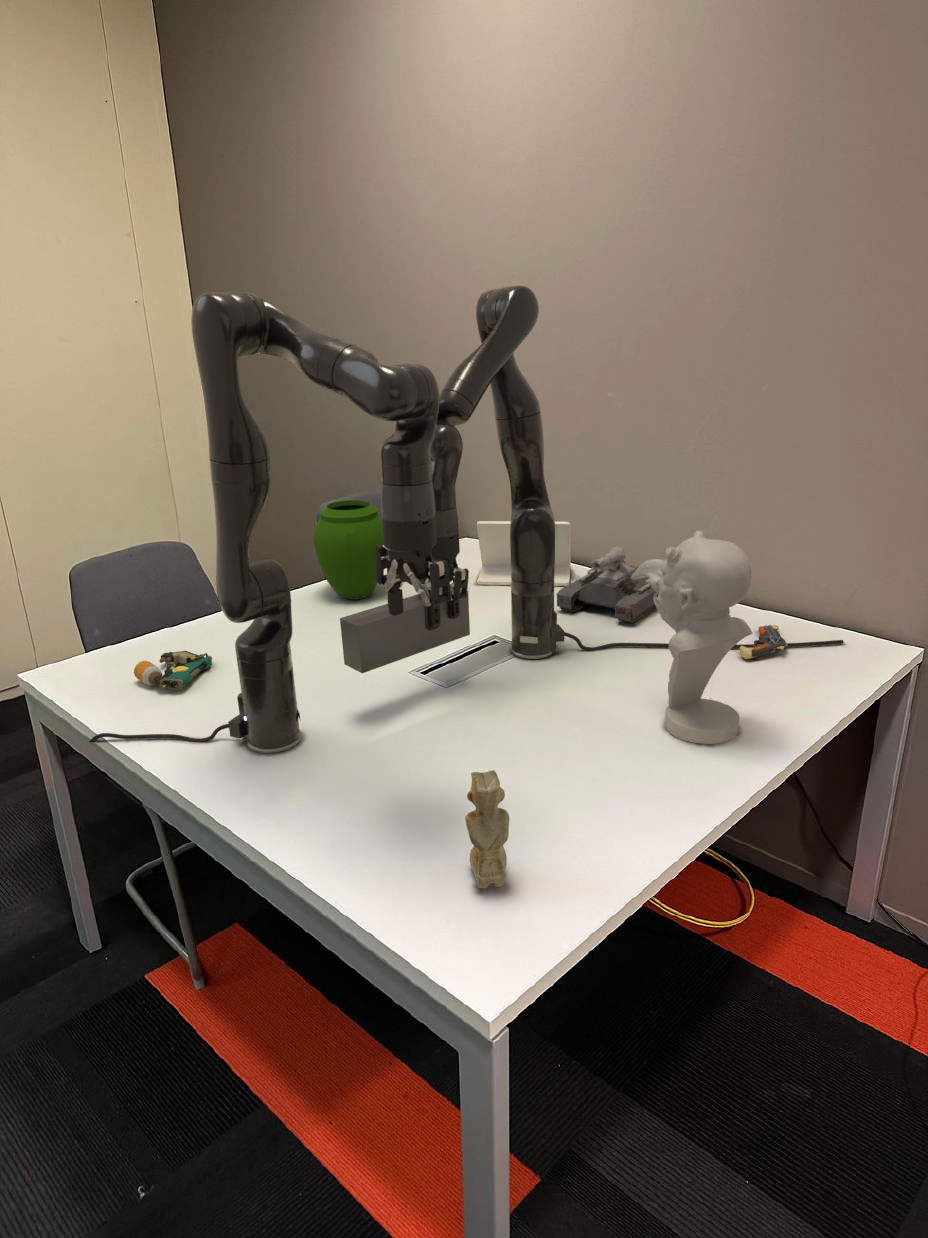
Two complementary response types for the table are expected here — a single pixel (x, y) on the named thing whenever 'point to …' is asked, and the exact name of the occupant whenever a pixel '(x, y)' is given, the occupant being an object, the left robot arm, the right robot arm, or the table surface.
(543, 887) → the table surface
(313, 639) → the table surface
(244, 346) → the left robot arm
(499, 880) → the sculpture
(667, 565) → the bust sculpture
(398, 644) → the bar
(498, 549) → the tablet stand
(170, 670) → the spray gun
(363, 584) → the vase
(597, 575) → the toy
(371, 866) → the table surface
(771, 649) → the toy gun
